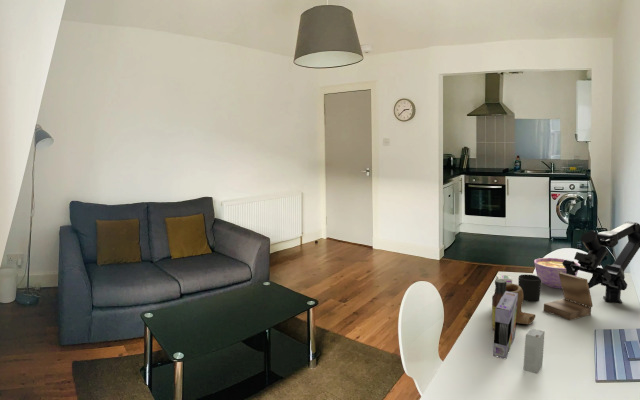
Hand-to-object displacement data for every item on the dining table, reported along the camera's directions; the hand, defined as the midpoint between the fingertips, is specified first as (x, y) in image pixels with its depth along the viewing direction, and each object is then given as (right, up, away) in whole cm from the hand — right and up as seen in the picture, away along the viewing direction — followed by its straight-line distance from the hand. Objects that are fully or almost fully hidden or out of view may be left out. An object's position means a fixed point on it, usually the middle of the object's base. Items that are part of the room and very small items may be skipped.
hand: (575, 285), depth 188 cm
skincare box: (-40, -18, -46) cm, 63 cm away
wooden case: (-4, -11, -1) cm, 12 cm away
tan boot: (-30, -13, -9) cm, 34 cm away
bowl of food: (+9, -7, +34) cm, 36 cm away
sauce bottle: (-39, -14, -18) cm, 45 cm away
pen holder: (-12, -9, +17) cm, 22 cm away
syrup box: (-29, -11, +4) cm, 31 cm away
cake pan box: (-43, -16, -31) cm, 56 cm away
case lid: (0, -2, 0) cm, 2 cm away
